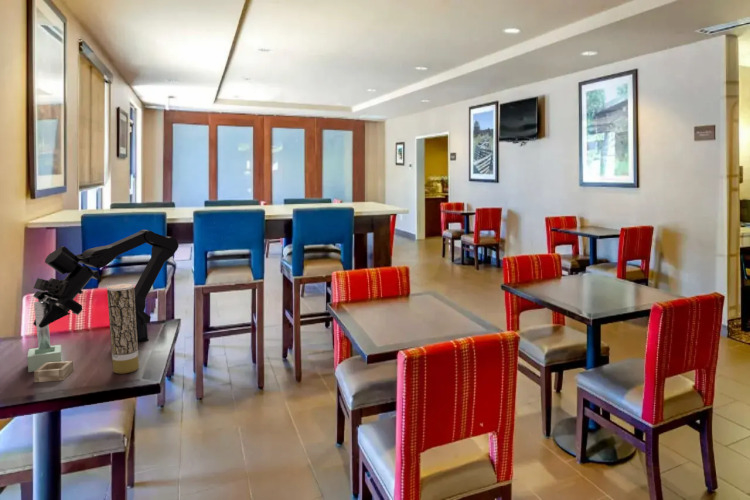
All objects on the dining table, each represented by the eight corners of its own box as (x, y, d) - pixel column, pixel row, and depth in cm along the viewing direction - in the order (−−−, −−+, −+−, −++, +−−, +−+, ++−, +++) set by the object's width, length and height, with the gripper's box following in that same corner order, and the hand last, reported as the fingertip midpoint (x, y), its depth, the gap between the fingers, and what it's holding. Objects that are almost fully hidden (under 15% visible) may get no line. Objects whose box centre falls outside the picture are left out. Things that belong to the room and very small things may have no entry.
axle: (52, 345, 143) (48, 300, 142) (48, 349, 141) (43, 303, 139) (41, 346, 143) (36, 301, 141) (36, 350, 140) (32, 303, 138)
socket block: (62, 358, 148) (60, 344, 147) (61, 366, 141) (60, 352, 140) (30, 363, 144) (29, 349, 143) (28, 372, 137) (27, 357, 136)
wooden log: (121, 376, 134) (115, 289, 131) (108, 371, 138) (102, 287, 134) (144, 368, 140) (138, 285, 136) (130, 364, 143) (125, 283, 140)
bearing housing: (73, 370, 138) (72, 360, 138) (63, 380, 131) (62, 369, 131) (46, 372, 137) (45, 362, 136) (34, 382, 130) (33, 371, 129)
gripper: (37, 264, 147) (-2, 307, 139) (67, 270, 137) (27, 316, 129) (67, 285, 154) (32, 326, 147) (97, 292, 144) (61, 336, 137)
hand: (37, 326), depth 140 cm, fingers closed on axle, 3 cm apart
